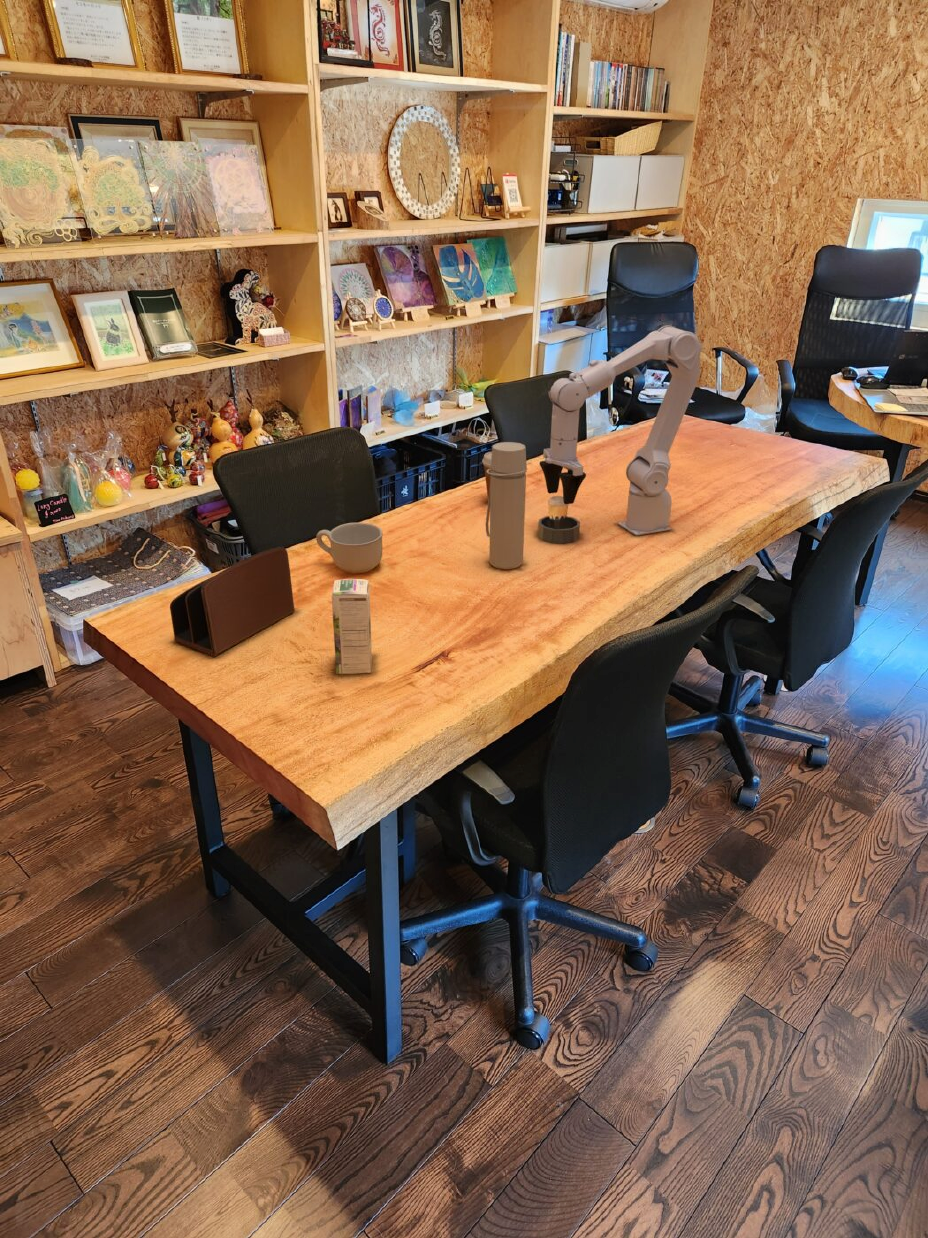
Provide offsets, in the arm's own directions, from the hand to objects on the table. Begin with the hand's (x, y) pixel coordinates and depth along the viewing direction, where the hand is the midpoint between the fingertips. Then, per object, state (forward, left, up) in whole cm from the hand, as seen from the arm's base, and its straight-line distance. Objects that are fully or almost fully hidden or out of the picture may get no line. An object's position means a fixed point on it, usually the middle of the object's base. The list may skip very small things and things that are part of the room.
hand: (560, 497), depth 182 cm
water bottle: (+18, +9, -9) cm, 22 cm away
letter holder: (+74, +17, -9) cm, 76 cm away
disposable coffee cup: (+3, -25, -9) cm, 27 cm away
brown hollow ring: (0, 0, -9) cm, 9 cm away
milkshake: (0, 0, -9) cm, 9 cm away
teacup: (+48, -1, -9) cm, 49 cm away
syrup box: (+58, +38, -9) cm, 70 cm away
